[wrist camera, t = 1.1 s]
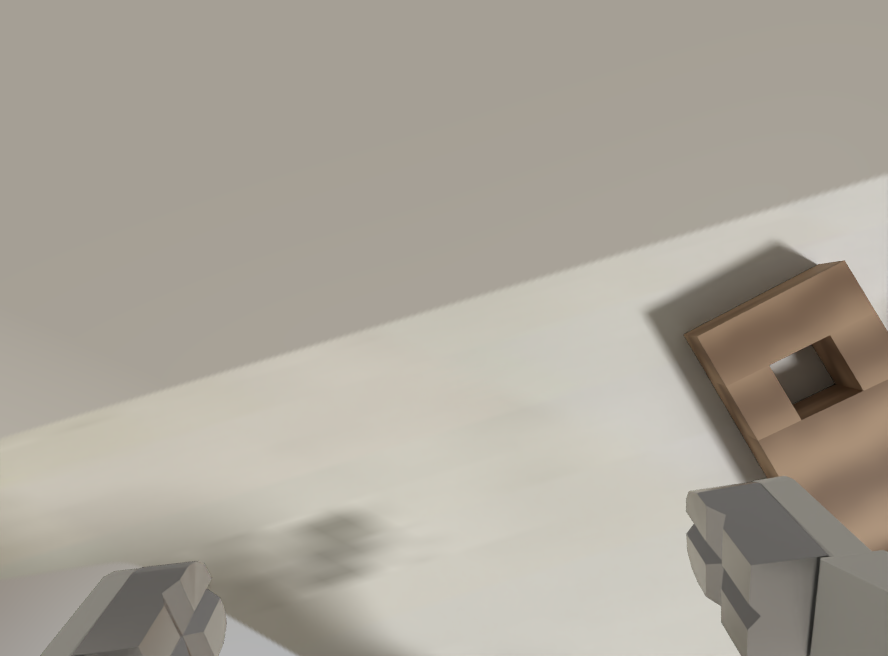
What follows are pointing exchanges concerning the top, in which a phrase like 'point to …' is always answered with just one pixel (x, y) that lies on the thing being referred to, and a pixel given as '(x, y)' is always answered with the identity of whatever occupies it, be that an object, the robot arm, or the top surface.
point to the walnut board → (821, 415)
